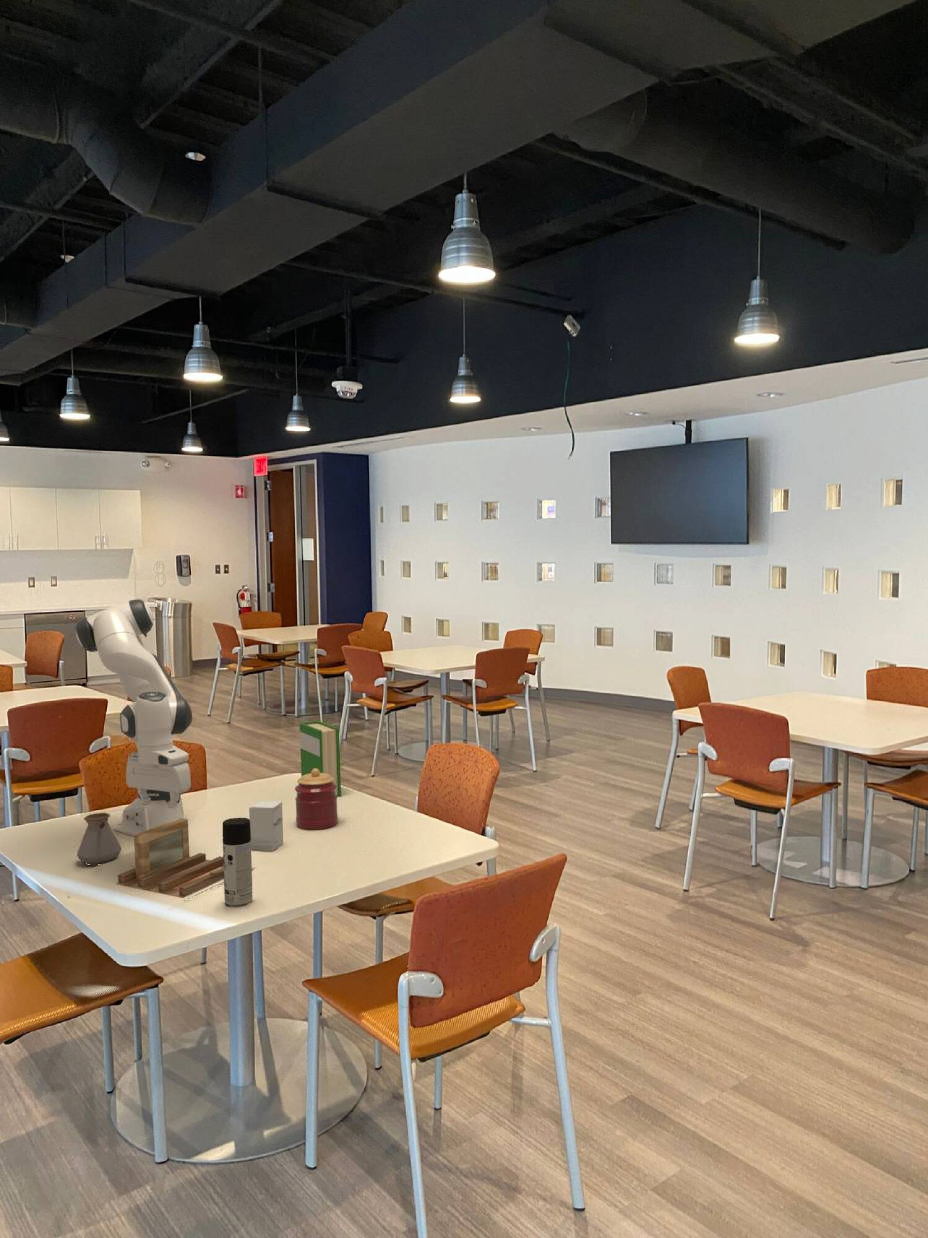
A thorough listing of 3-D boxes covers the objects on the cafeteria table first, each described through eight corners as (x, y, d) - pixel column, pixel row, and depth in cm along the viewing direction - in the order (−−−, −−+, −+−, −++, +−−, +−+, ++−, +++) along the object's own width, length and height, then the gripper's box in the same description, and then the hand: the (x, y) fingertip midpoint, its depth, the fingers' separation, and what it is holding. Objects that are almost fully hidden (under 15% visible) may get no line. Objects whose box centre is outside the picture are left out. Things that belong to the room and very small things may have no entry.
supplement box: (274, 851, 259) (272, 808, 258) (249, 850, 261) (248, 807, 260) (284, 843, 266) (282, 801, 266) (260, 842, 268) (259, 800, 267)
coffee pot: (75, 859, 256) (73, 806, 255) (119, 852, 262) (116, 800, 260) (82, 882, 237) (79, 826, 236) (128, 874, 243) (126, 819, 242)
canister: (330, 831, 277) (329, 774, 276) (290, 830, 279) (288, 773, 278) (343, 818, 290) (341, 764, 289) (304, 817, 292) (302, 763, 291)
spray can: (227, 897, 225) (224, 817, 224) (255, 895, 226) (252, 816, 224) (222, 907, 218) (219, 825, 217) (251, 906, 219) (248, 824, 218)
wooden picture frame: (135, 880, 235) (133, 834, 234) (181, 861, 249) (179, 818, 248) (144, 882, 234) (142, 836, 233) (189, 863, 248) (187, 819, 247)
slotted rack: (115, 887, 233) (114, 874, 233) (184, 859, 254) (183, 846, 254) (182, 902, 222) (182, 887, 222) (248, 870, 244) (247, 857, 243)
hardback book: (341, 796, 317) (339, 728, 315) (321, 800, 313) (319, 730, 311) (321, 786, 332) (318, 721, 330) (301, 789, 328) (299, 723, 326)
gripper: (118, 754, 241) (121, 805, 242) (175, 759, 232) (178, 813, 233) (137, 749, 247) (140, 799, 248) (193, 754, 237) (196, 806, 238)
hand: (159, 806), depth 240 cm, fingers open, 8 cm apart
